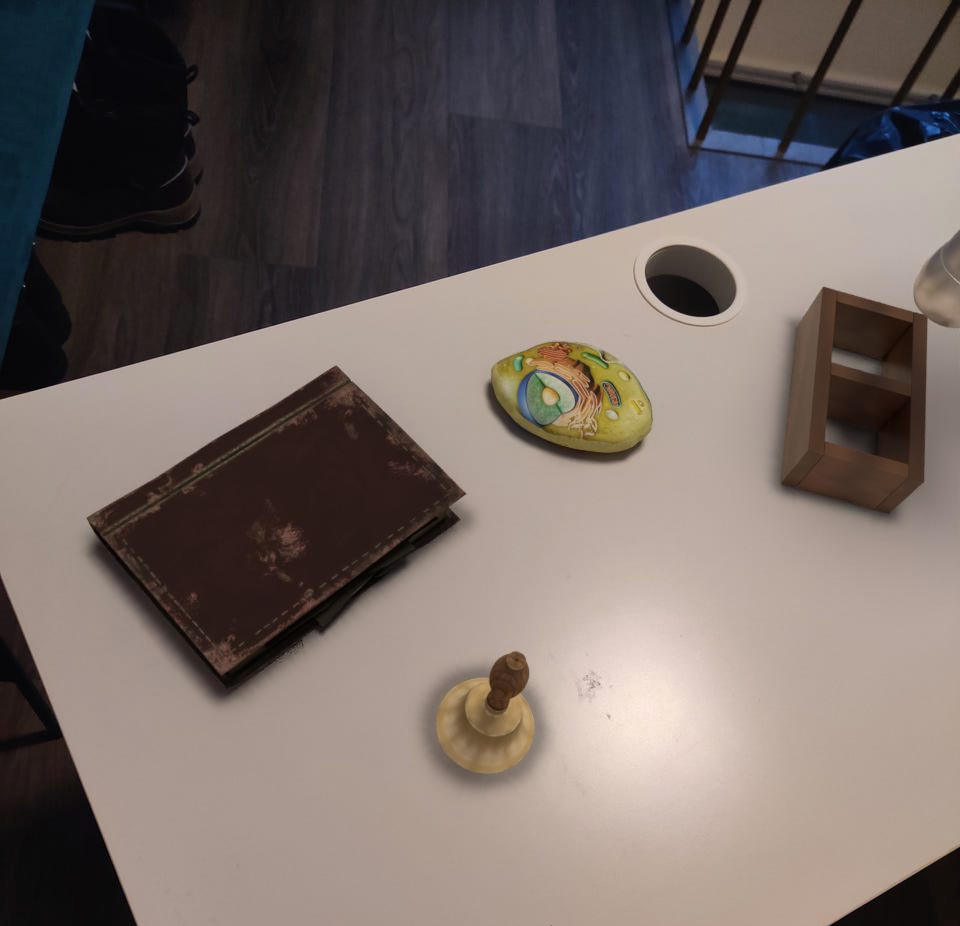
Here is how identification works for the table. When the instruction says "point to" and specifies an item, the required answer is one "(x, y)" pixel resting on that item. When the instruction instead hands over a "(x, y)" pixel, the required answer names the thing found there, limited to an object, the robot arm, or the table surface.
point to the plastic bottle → (941, 285)
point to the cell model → (574, 396)
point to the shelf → (858, 401)
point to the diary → (278, 523)
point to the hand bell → (488, 718)
